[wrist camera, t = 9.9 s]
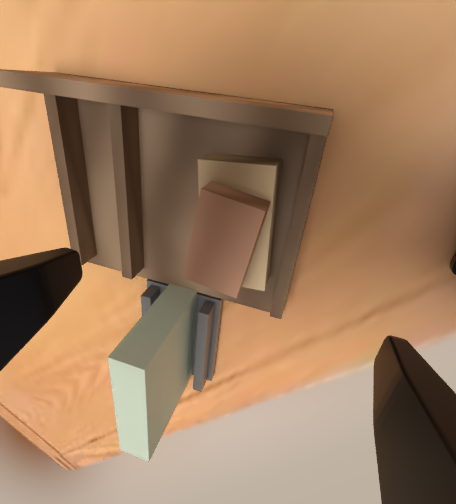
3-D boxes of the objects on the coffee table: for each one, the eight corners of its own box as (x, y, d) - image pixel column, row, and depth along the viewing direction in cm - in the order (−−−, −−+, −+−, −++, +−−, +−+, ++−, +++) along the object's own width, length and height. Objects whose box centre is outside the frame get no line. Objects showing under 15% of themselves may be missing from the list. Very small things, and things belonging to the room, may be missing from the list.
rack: (333, 109, 17) (333, 115, 13) (283, 308, 23) (273, 352, 20) (54, 72, 20) (-12, 68, 16) (82, 254, 27) (41, 282, 23)
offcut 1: (281, 158, 18) (276, 165, 16) (269, 275, 21) (264, 291, 20) (209, 152, 19) (197, 159, 17) (210, 264, 23) (201, 279, 21)
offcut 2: (270, 201, 17) (265, 211, 16) (242, 284, 20) (236, 298, 19) (211, 180, 17) (200, 188, 16) (192, 265, 21) (182, 277, 19)
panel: (197, 291, 24) (144, 370, 17) (191, 375, 29) (148, 461, 22) (169, 283, 25) (107, 357, 18) (168, 367, 30) (120, 449, 23)
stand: (223, 294, 25) (213, 313, 23) (214, 374, 29) (205, 395, 27) (151, 275, 26) (136, 291, 24) (153, 354, 31) (141, 373, 29)
